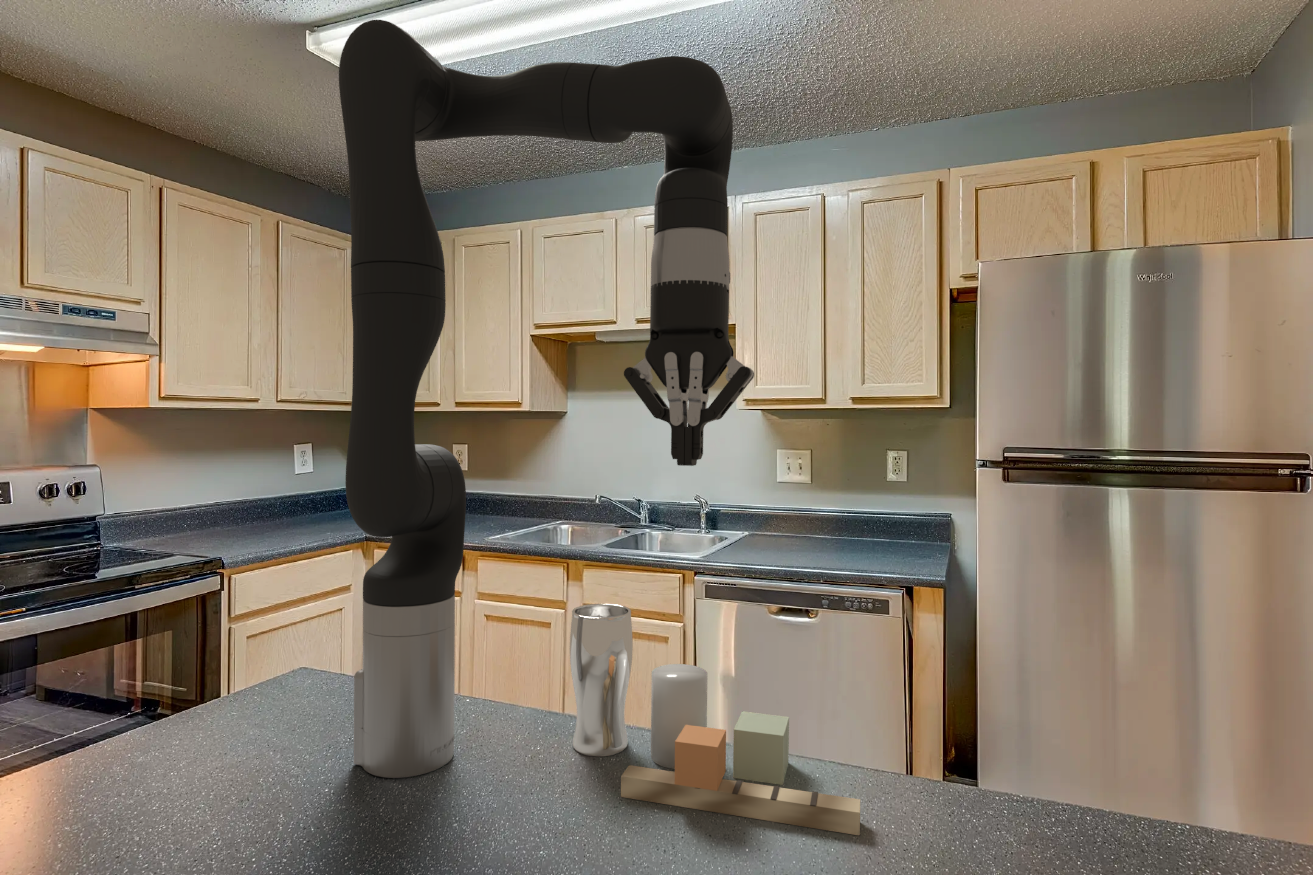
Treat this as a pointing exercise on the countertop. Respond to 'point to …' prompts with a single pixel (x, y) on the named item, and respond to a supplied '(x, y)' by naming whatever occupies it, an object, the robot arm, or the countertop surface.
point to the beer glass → (600, 676)
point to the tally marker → (700, 757)
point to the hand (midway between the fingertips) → (687, 465)
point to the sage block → (761, 747)
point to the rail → (746, 800)
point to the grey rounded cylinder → (675, 707)
